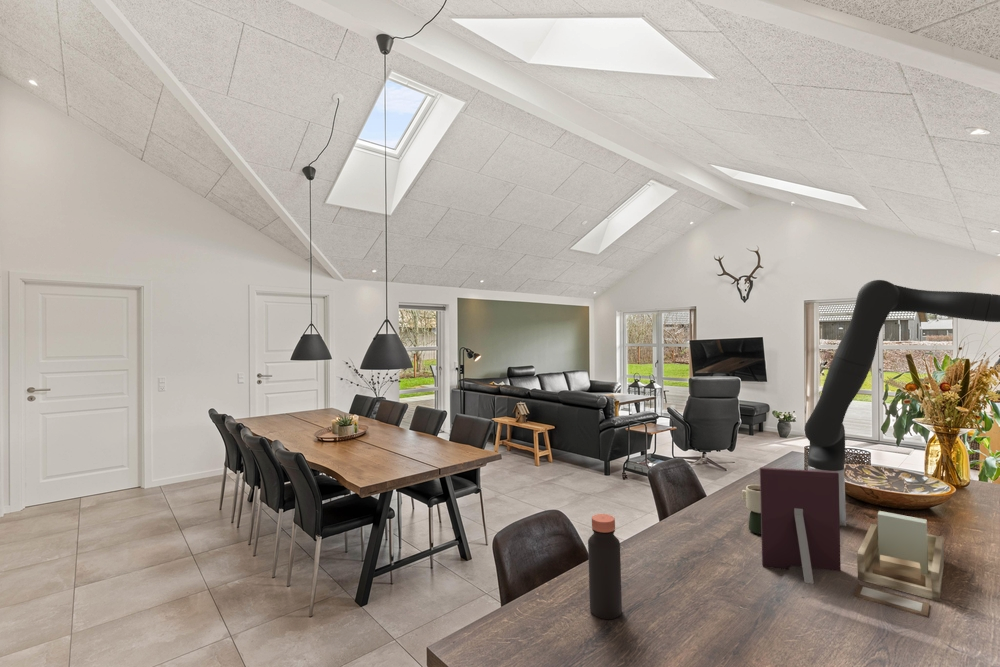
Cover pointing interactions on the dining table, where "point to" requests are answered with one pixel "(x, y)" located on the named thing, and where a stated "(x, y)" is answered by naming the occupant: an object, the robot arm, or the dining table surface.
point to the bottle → (604, 568)
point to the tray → (865, 563)
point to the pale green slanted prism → (903, 538)
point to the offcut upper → (900, 567)
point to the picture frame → (800, 520)
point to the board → (892, 600)
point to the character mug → (753, 506)
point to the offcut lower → (899, 576)
